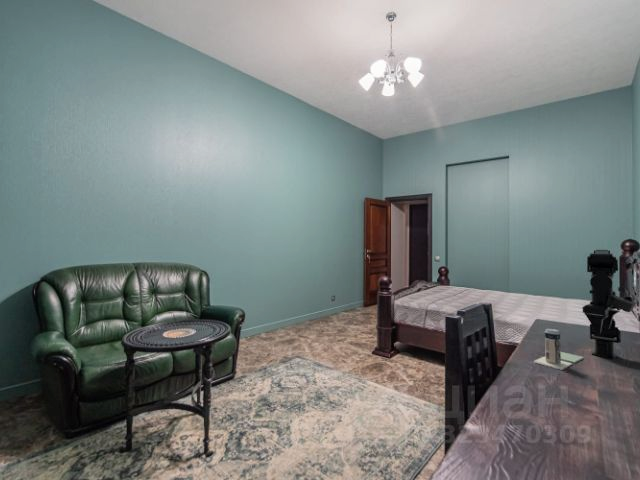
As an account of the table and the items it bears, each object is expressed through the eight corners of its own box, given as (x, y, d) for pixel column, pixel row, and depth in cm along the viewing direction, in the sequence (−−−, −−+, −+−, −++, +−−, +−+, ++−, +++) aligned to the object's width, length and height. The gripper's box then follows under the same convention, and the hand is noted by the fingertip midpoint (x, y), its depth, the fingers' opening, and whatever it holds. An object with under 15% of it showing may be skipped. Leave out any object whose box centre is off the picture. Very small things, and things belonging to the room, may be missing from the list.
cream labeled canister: (561, 365, 115) (560, 332, 115) (545, 362, 118) (544, 330, 118) (560, 361, 119) (560, 329, 119) (545, 358, 122) (544, 327, 122)
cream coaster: (544, 357, 125) (544, 356, 125) (572, 364, 117) (572, 363, 117) (533, 362, 120) (533, 361, 120) (562, 370, 112) (561, 368, 112)
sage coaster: (556, 352, 131) (556, 350, 131) (583, 358, 123) (583, 357, 124) (547, 356, 126) (547, 355, 126) (574, 363, 119) (574, 361, 119)
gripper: (624, 292, 103) (625, 341, 103) (640, 288, 113) (641, 332, 113) (581, 289, 112) (582, 333, 112) (599, 285, 122) (600, 325, 122)
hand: (602, 331), depth 114 cm, fingers open, 9 cm apart
